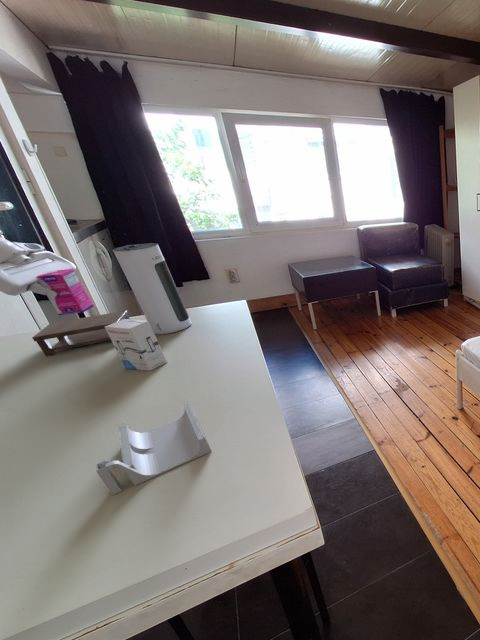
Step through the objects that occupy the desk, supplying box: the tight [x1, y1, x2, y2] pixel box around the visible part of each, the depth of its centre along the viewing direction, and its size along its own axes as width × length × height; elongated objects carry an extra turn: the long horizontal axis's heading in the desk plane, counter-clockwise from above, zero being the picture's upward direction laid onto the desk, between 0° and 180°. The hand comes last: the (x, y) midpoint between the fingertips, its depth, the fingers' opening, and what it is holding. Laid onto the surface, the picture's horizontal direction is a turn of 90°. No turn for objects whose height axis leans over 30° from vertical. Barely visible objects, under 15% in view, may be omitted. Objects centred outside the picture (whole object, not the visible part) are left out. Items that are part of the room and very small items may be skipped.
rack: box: [31, 310, 131, 357], centre depth 108 cm, size 18×12×6 cm, turn 119°
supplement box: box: [36, 269, 95, 316], centre depth 103 cm, size 6×6×12 cm
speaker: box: [112, 242, 193, 335], centre depth 110 cm, size 11×10×26 cm
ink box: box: [105, 318, 168, 372], centre depth 91 cm, size 9×5×12 cm, turn 76°
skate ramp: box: [95, 401, 212, 496], centre depth 63 cm, size 15×13×5 cm
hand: (68, 291), depth 103 cm, fingers closed on supplement box, 6 cm apart
